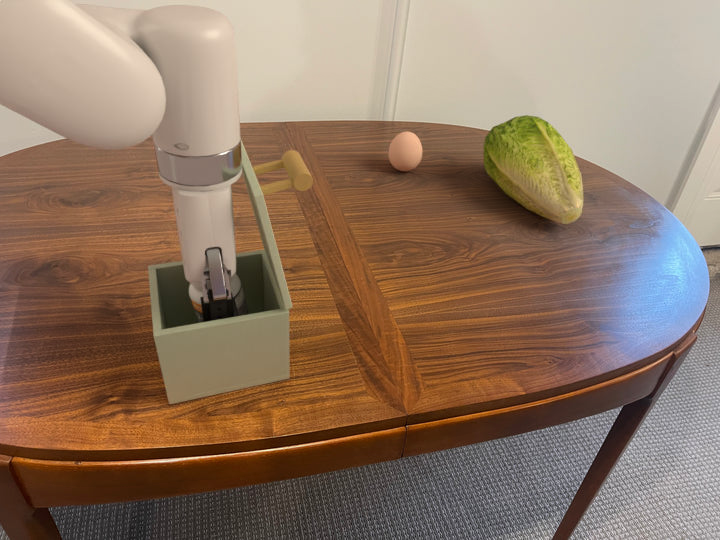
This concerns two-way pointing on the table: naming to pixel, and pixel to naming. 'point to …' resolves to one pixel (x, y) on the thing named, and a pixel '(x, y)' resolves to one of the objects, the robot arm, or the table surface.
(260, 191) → the lid
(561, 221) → the lettuce
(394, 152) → the egg
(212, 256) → the robot arm
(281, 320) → the chest
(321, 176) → the table surface
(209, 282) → the pill bottle
